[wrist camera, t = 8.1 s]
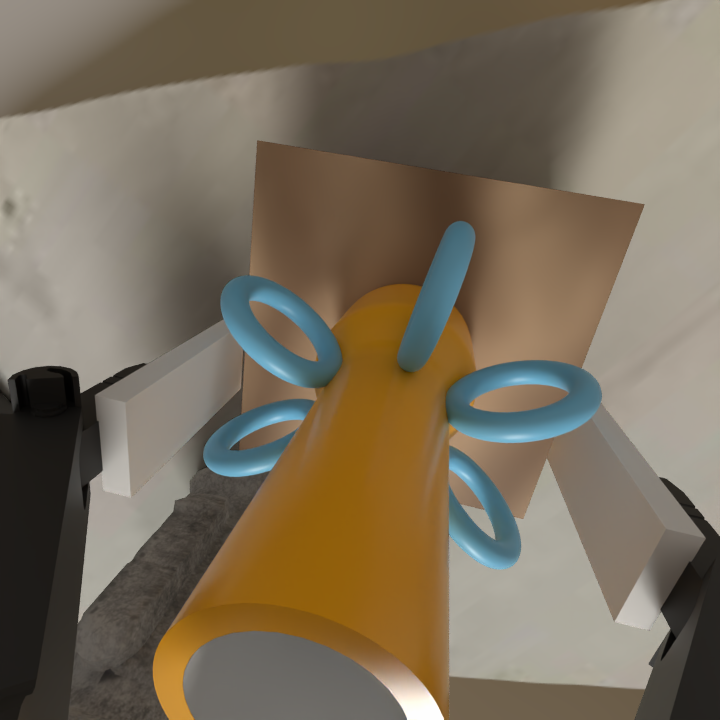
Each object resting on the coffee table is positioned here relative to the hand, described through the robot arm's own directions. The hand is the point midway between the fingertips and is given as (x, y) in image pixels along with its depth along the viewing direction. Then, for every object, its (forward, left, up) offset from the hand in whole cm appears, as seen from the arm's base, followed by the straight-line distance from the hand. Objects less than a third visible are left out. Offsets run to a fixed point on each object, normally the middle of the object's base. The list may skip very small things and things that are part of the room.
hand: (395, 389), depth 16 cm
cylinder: (0, 0, -4) cm, 4 cm away
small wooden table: (0, 0, -12) cm, 12 cm away
